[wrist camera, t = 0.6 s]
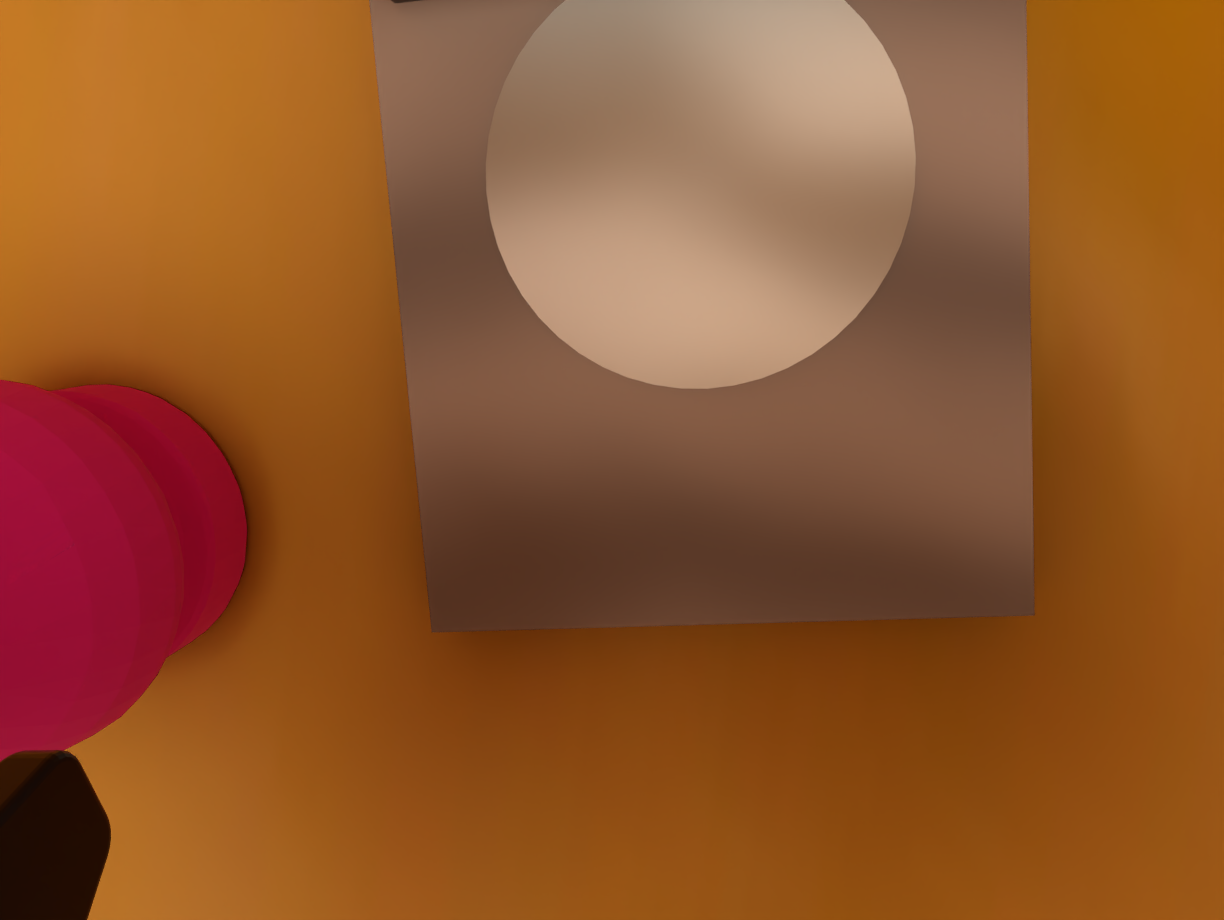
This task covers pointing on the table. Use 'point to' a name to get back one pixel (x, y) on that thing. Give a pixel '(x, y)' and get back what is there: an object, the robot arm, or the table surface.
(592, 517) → the flat brown board
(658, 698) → the table surface
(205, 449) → the pepper mill
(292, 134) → the table surface
